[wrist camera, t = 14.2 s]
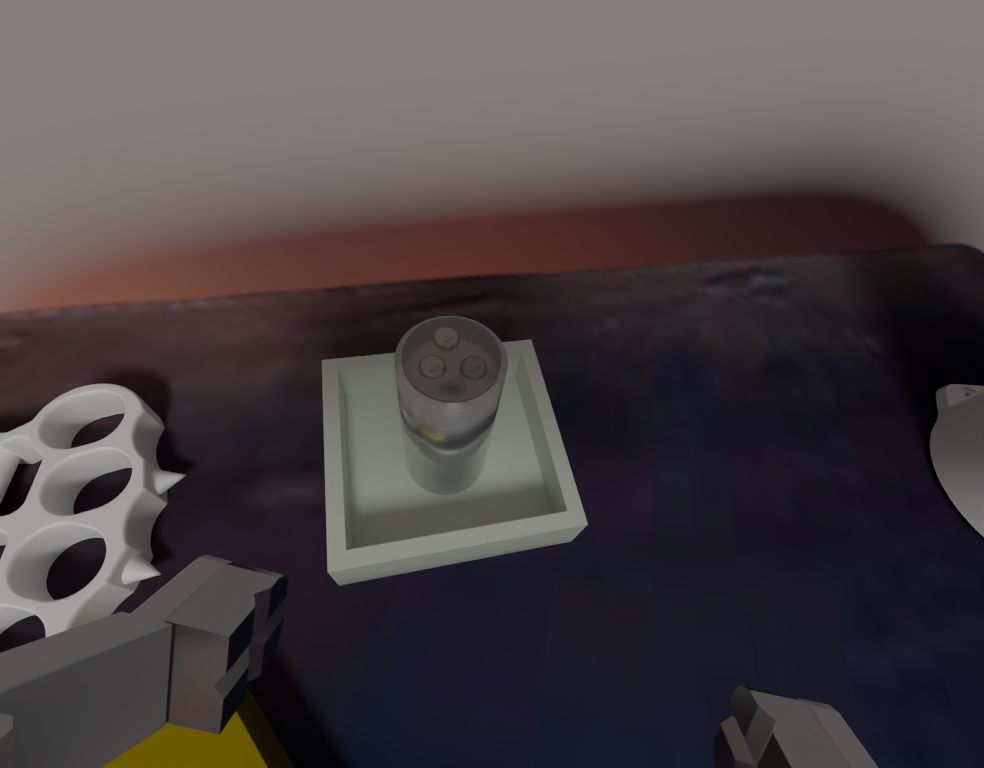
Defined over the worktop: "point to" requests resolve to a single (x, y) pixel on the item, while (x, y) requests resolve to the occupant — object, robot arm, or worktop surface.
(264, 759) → the element tile
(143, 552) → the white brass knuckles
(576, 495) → the sage bin
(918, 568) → the worktop surface
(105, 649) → the robot arm
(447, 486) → the gray flashlight
